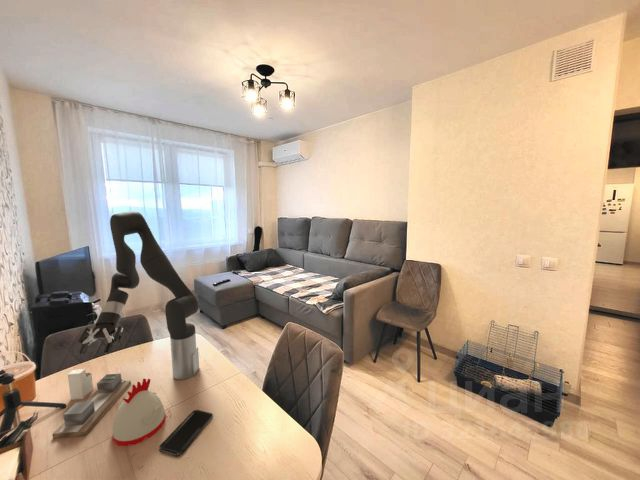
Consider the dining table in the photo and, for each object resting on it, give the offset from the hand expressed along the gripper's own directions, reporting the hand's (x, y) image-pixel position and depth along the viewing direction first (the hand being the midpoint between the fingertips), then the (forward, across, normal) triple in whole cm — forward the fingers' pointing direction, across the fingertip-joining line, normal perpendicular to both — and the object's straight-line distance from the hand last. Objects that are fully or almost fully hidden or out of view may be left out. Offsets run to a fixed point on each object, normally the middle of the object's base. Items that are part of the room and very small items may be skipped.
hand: (94, 354), depth 102 cm
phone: (+28, +45, -12) cm, 55 cm away
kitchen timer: (+25, +29, -9) cm, 40 cm away
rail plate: (+18, +10, -3) cm, 21 cm away
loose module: (+13, 0, +3) cm, 14 cm away
